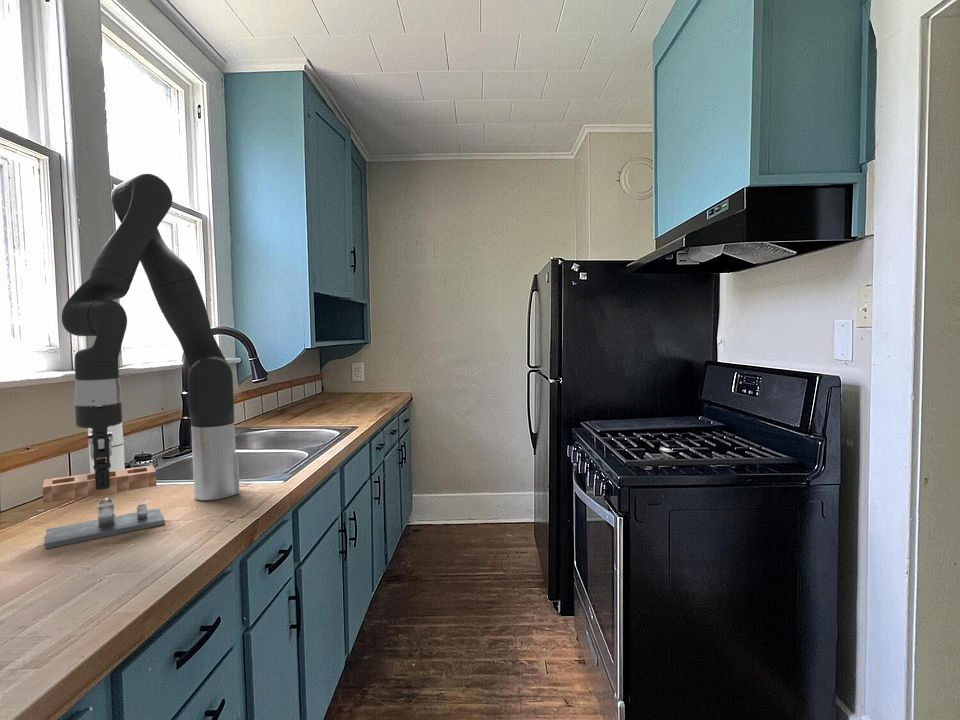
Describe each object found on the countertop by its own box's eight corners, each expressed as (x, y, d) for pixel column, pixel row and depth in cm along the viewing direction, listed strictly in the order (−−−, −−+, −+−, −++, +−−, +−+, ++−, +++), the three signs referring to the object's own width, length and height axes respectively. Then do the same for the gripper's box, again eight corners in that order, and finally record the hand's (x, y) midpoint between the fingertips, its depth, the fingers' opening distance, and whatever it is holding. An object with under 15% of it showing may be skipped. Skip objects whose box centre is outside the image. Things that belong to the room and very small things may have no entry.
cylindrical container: (102, 483, 139) (97, 388, 137) (131, 482, 140) (126, 387, 138) (84, 492, 132) (78, 391, 130) (115, 491, 132) (109, 390, 131)
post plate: (159, 512, 116) (157, 483, 116) (165, 524, 109) (163, 493, 109) (46, 534, 105) (44, 502, 104) (45, 548, 98) (43, 514, 97)
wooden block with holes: (43, 503, 99) (42, 487, 98) (45, 494, 104) (44, 479, 104) (156, 486, 109) (156, 471, 109) (153, 479, 114) (152, 465, 114)
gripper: (75, 399, 109) (79, 479, 110) (74, 407, 98) (78, 497, 98) (119, 396, 114) (122, 473, 114) (123, 404, 102) (127, 490, 103)
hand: (102, 484), depth 106 cm, fingers closed on wooden block with holes, 6 cm apart
